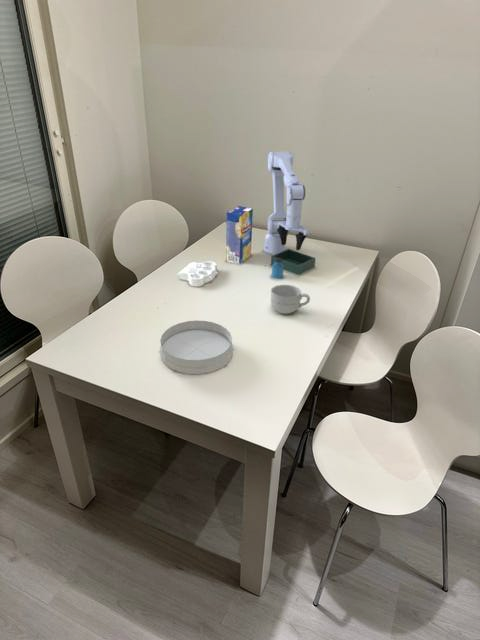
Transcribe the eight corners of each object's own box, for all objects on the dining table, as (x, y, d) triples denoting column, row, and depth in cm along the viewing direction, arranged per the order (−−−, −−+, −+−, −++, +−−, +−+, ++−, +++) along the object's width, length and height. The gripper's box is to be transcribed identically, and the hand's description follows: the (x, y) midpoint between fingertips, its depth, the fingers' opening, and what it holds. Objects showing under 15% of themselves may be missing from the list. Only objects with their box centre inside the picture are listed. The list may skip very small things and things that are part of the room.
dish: (196, 325, 155) (195, 313, 152) (246, 350, 143) (247, 337, 140) (145, 354, 140) (144, 340, 137) (197, 384, 128) (197, 370, 125)
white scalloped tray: (193, 265, 197) (224, 271, 192) (173, 282, 182) (207, 289, 178) (193, 258, 195) (224, 263, 191) (173, 274, 180) (207, 281, 176)
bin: (270, 266, 198) (271, 256, 196) (287, 258, 206) (288, 248, 203) (298, 276, 190) (299, 266, 187) (314, 267, 198) (315, 257, 195)
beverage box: (250, 256, 207) (252, 208, 195) (239, 264, 198) (241, 215, 187) (237, 252, 209) (238, 205, 198) (226, 261, 201) (226, 212, 190)
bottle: (269, 277, 188) (270, 258, 184) (276, 274, 191) (277, 255, 187) (278, 280, 186) (279, 262, 181) (284, 277, 189) (286, 258, 184)
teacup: (264, 312, 164) (266, 292, 159) (277, 299, 172) (278, 280, 168) (301, 322, 158) (303, 302, 154) (311, 309, 167) (314, 289, 162)
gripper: (273, 213, 185) (271, 244, 192) (302, 222, 177) (299, 254, 184) (284, 209, 189) (281, 240, 196) (313, 217, 181) (309, 249, 188)
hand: (290, 247), depth 190 cm, fingers open, 7 cm apart
